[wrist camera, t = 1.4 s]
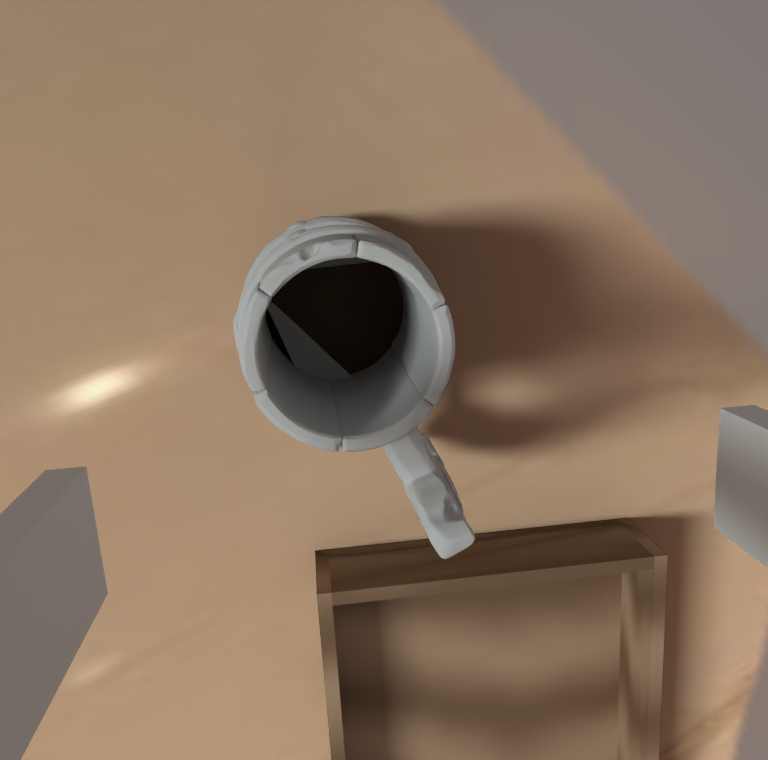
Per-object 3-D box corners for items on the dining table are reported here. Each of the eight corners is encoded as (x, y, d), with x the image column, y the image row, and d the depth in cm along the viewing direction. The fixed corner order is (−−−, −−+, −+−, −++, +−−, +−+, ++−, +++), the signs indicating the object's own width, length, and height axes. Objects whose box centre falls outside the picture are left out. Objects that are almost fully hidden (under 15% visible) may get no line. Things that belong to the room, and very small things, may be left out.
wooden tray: (315, 551, 32) (316, 594, 28) (627, 517, 33) (667, 555, 30) (341, 849, 36) (345, 921, 32) (619, 808, 37) (653, 872, 34)
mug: (369, 181, 28) (415, 155, 17) (492, 418, 31) (603, 535, 20) (209, 271, 28) (143, 307, 17) (346, 498, 31) (372, 662, 20)
